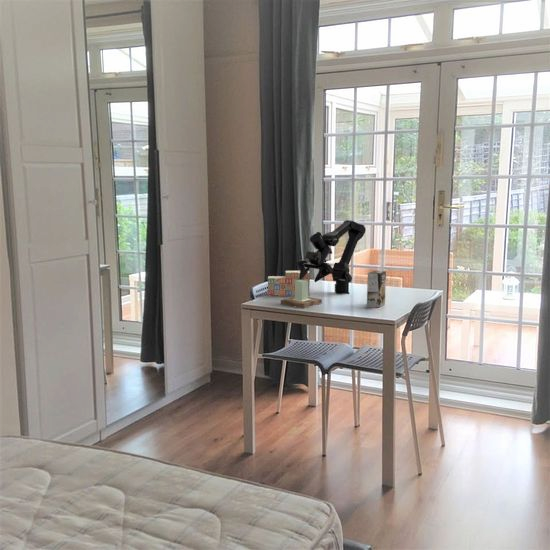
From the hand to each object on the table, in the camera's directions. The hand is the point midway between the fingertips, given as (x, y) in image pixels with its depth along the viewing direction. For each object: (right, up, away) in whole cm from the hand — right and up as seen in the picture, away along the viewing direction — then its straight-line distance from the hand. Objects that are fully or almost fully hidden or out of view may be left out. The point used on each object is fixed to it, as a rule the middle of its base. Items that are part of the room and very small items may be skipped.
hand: (307, 280), depth 296 cm
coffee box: (+32, -12, -6) cm, 35 cm away
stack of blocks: (-9, -8, +20) cm, 23 cm away
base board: (-3, -11, -2) cm, 12 cm away
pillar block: (-3, -9, -2) cm, 10 cm away
